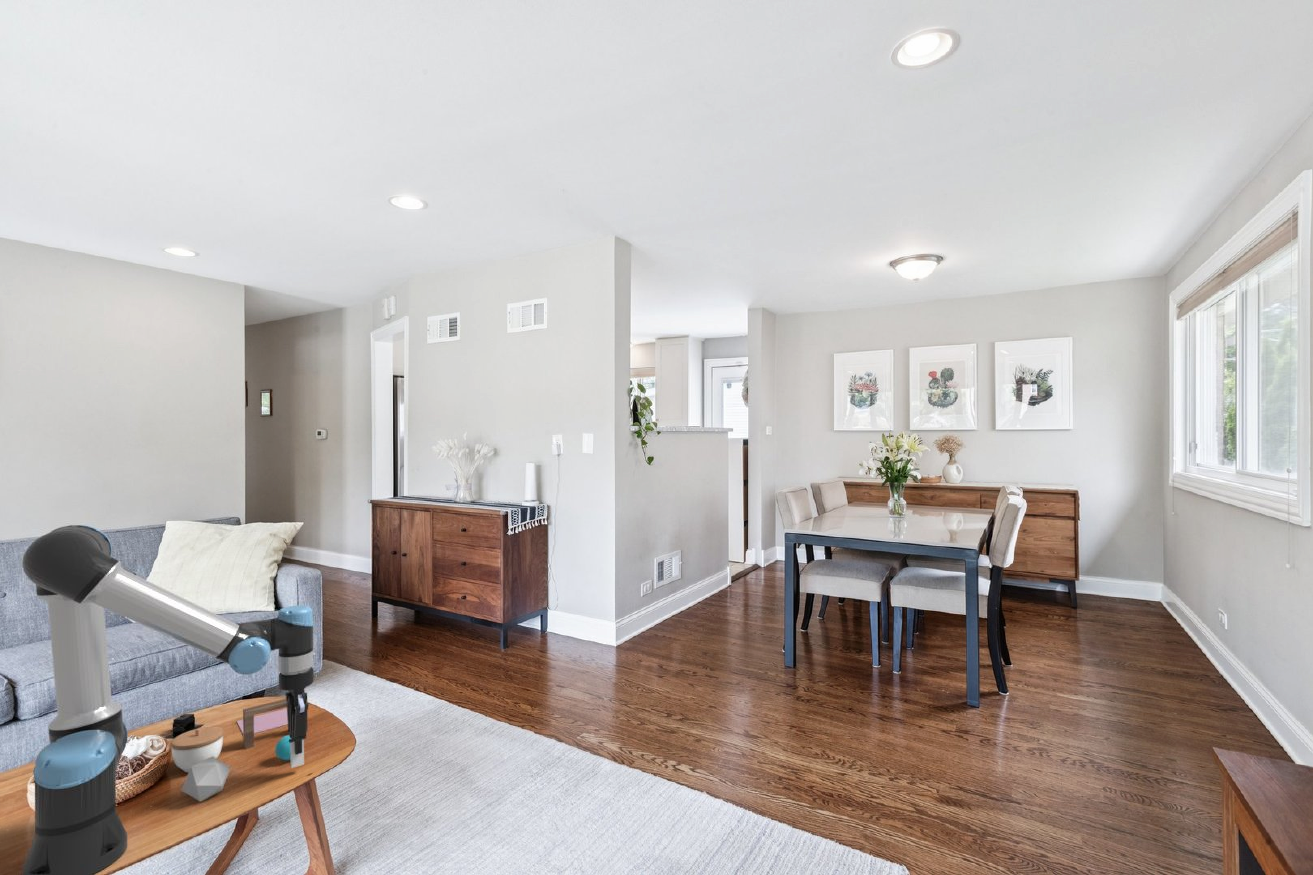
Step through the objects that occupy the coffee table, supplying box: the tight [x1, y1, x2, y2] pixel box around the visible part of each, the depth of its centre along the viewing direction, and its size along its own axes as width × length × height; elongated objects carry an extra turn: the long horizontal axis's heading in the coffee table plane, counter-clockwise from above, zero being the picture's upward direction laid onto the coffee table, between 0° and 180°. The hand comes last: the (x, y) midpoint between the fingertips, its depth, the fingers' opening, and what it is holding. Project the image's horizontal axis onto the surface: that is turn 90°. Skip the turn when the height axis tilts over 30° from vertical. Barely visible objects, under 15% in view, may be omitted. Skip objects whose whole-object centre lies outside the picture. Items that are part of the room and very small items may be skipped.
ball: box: [274, 734, 292, 761], centre depth 163 cm, size 6×6×6 cm
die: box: [181, 756, 232, 803], centre depth 146 cm, size 8×9×10 cm
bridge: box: [242, 698, 309, 750], centre depth 175 cm, size 3×15×10 cm, turn 131°
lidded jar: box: [171, 726, 224, 773], centre depth 160 cm, size 11×11×9 cm
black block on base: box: [164, 713, 205, 740], centre depth 180 cm, size 13×8×5 cm, turn 178°
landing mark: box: [236, 707, 288, 735], centre depth 185 cm, size 13×13×1 cm
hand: (297, 764), depth 156 cm, fingers closed
